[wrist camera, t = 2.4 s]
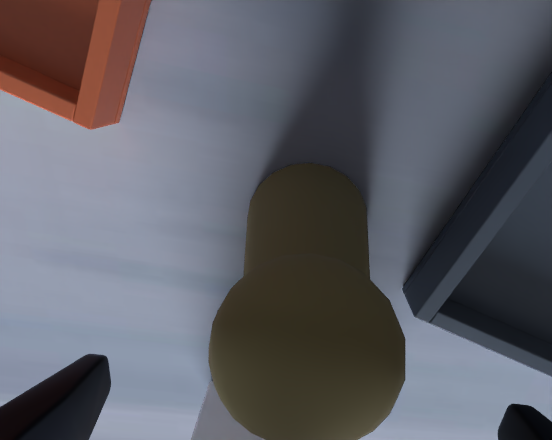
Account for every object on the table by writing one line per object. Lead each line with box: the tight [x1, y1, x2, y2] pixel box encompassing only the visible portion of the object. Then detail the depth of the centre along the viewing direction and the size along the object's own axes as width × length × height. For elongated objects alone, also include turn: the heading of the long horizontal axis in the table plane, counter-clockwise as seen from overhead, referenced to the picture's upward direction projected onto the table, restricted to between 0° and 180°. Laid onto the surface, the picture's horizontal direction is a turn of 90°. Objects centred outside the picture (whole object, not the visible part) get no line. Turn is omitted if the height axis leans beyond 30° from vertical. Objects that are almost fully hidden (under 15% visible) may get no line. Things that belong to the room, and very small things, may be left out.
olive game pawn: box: [209, 163, 405, 440], centre depth 13 cm, size 6×6×11 cm
